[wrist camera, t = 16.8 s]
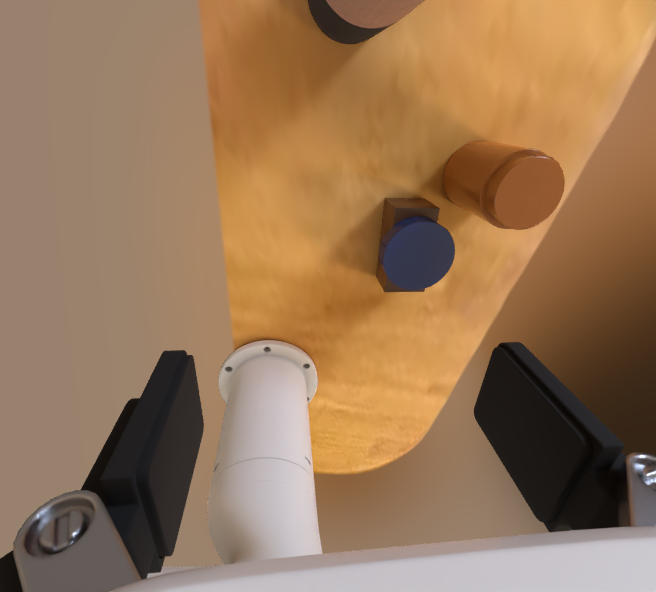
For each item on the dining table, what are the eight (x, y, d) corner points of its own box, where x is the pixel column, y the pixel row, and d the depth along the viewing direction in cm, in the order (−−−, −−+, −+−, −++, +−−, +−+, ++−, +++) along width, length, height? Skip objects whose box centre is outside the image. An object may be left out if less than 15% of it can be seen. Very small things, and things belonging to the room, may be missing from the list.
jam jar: (495, 207, 39) (553, 234, 30) (437, 206, 38) (481, 234, 30) (511, 141, 36) (582, 152, 27) (449, 139, 35) (502, 149, 27)
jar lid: (382, 215, 34) (387, 221, 32) (453, 216, 35) (462, 221, 33) (375, 282, 37) (379, 290, 35) (440, 281, 38) (447, 289, 36)
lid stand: (412, 276, 42) (424, 291, 38) (375, 276, 41) (384, 292, 38) (425, 198, 38) (439, 208, 34) (384, 198, 37) (395, 207, 34)
